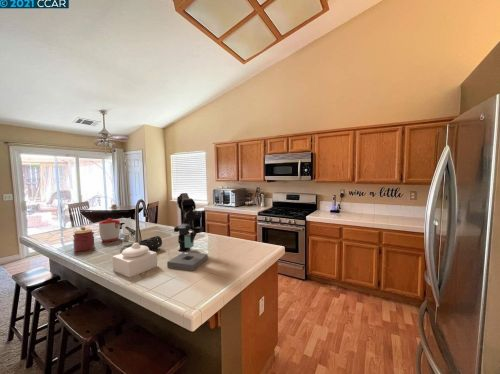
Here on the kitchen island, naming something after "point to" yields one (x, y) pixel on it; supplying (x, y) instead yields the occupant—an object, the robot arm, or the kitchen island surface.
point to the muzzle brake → (147, 243)
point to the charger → (188, 241)
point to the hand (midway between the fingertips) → (189, 242)
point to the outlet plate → (187, 261)
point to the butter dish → (134, 260)
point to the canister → (83, 240)
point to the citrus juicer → (109, 230)
